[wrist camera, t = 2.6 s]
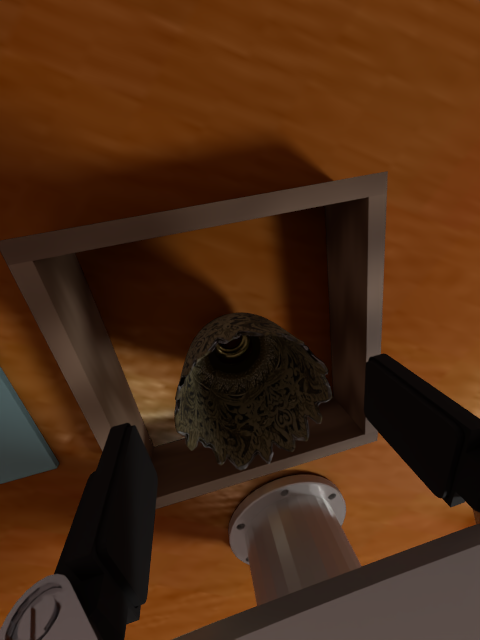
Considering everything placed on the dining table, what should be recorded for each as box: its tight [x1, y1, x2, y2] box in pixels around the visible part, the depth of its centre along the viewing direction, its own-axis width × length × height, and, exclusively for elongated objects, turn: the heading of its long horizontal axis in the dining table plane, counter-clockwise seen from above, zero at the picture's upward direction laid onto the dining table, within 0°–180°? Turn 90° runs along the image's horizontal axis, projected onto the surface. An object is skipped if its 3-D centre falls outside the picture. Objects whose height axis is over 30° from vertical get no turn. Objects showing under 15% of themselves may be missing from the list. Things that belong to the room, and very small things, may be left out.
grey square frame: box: [0, 171, 388, 509], centre depth 17 cm, size 18×18×4 cm
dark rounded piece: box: [175, 313, 332, 470], centre depth 16 cm, size 8×7×8 cm
